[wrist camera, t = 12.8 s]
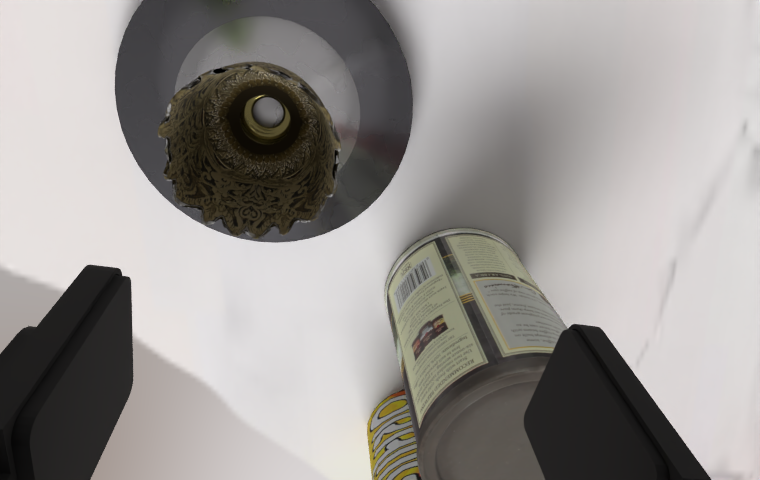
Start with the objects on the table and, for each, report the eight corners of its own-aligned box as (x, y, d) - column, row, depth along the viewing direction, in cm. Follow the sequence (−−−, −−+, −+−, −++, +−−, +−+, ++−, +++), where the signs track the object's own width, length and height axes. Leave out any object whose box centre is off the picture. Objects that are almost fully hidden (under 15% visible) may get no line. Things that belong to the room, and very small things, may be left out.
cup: (197, 29, 26) (152, 52, 19) (343, 50, 27) (351, 79, 20) (198, 168, 29) (160, 232, 22) (328, 182, 31) (330, 247, 23)
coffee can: (497, 353, 40) (577, 523, 28) (369, 337, 38) (395, 514, 26) (546, 238, 36) (666, 380, 24) (404, 214, 34) (455, 355, 22)
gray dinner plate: (118, -83, 25) (105, -87, 23) (436, -16, 28) (442, -16, 26) (128, 215, 32) (119, 227, 30) (381, 244, 35) (384, 256, 33)
